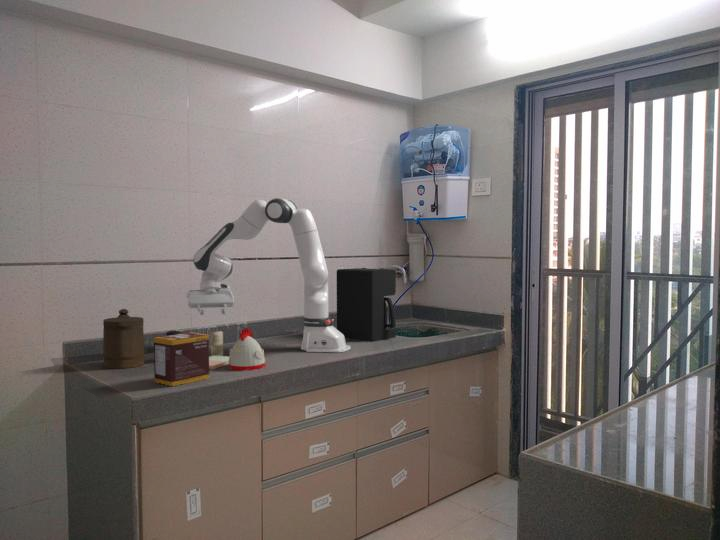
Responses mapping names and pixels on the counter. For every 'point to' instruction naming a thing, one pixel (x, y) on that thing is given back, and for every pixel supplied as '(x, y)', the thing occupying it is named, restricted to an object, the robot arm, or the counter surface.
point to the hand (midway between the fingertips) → (212, 313)
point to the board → (217, 361)
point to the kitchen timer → (246, 353)
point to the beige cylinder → (217, 343)
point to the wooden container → (123, 341)
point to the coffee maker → (365, 303)
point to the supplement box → (181, 358)
